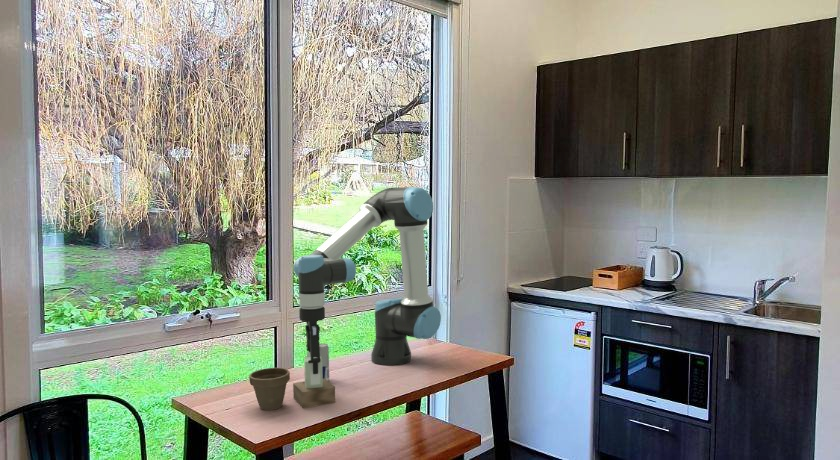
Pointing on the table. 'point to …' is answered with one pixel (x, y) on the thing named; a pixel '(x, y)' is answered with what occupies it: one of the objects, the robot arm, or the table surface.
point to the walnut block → (313, 394)
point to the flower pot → (270, 386)
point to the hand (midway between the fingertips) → (313, 378)
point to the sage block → (307, 374)
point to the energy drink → (325, 360)
